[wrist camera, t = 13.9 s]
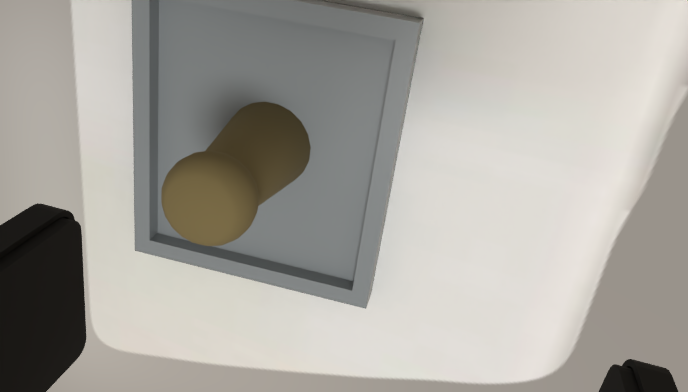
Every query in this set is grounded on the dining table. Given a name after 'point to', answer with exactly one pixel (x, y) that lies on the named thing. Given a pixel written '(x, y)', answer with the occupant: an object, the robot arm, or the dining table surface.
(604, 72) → the dining table surface
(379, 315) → the dining table surface
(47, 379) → the robot arm
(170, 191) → the brown pawn
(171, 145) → the slate tray
